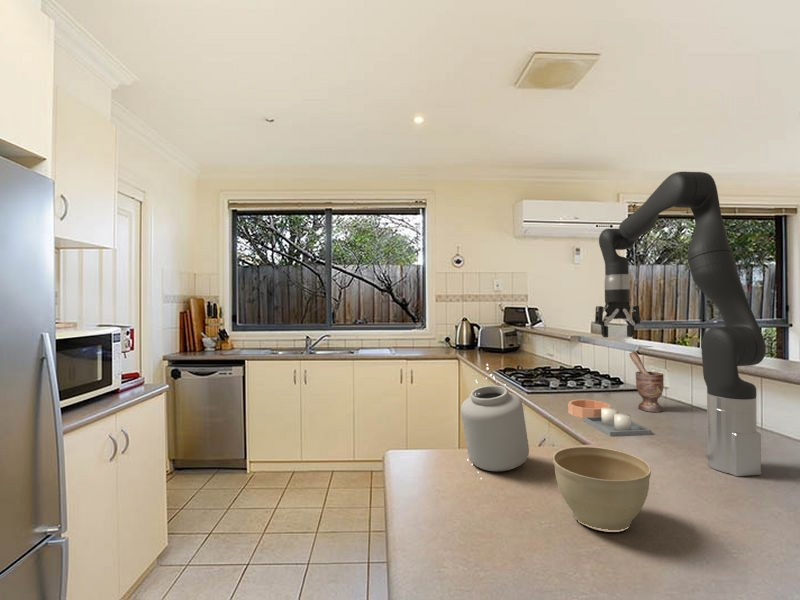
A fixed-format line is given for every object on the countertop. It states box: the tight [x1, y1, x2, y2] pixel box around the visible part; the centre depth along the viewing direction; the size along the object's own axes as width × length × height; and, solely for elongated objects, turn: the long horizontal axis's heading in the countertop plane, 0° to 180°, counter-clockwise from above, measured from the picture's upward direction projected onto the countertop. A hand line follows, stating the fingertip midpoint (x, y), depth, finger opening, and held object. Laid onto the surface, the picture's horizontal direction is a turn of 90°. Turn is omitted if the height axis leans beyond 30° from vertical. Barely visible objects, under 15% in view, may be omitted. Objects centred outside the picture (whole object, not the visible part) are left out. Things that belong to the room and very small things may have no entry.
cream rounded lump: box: [601, 407, 618, 426], centre depth 135 cm, size 4×4×5 cm
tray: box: [583, 417, 652, 437], centre depth 131 cm, size 15×12×2 cm
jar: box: [460, 363, 530, 480], centre depth 105 cm, size 19×15×25 cm
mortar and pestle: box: [628, 351, 664, 413], centre depth 155 cm, size 12×9×20 cm
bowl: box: [567, 398, 612, 419], centre depth 147 cm, size 13×13×4 cm
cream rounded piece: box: [614, 412, 632, 431], centre depth 128 cm, size 4×4×5 cm
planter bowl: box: [552, 446, 652, 530], centre depth 79 cm, size 16×16×11 cm
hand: (617, 337), depth 144 cm, fingers open, 8 cm apart
